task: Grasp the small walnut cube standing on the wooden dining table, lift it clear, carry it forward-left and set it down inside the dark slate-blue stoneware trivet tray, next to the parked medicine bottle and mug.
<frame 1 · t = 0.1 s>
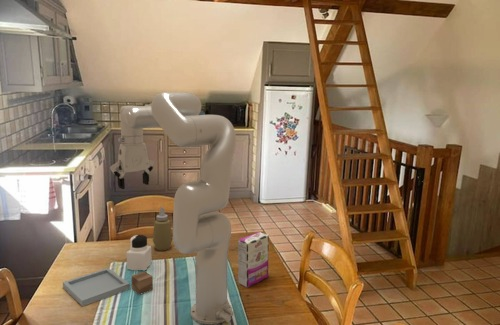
hand: (134, 186, 146), 31 cm above the table, fingers open, 9 cm apart
medicine bottle: (139, 267, 150), on the table
squeeze bottle: (162, 248, 168), on the table
tray: (96, 288, 134), on the table
cube: (142, 289, 134), on the table
candy bar box: (252, 280, 141), on the table
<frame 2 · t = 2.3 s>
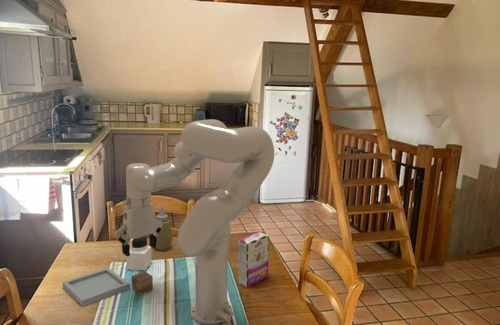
hand: (139, 250, 131), 14 cm above the table, fingers open, 9 cm apart
nothing on the table moved.
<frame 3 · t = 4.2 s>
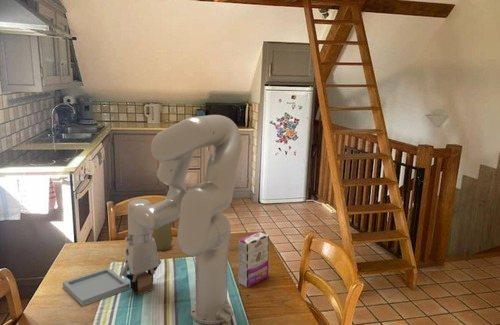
hand: (142, 287, 134), 1 cm above the table, fingers closed on cube, 5 cm apart
cube: (142, 289, 134), on the table, touching gripper
everything else where it was.
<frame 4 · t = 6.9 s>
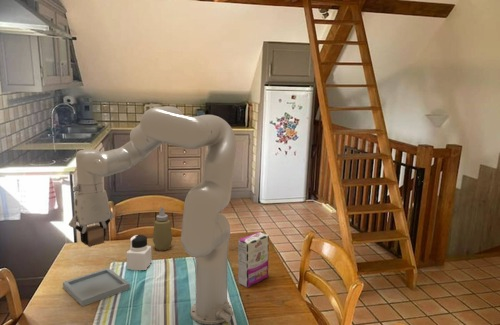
hand: (93, 240, 130), 17 cm above the table, fingers closed on cube, 5 cm apart
cube: (93, 242, 131), point 16 cm above the table, touching gripper
everything else where it was.
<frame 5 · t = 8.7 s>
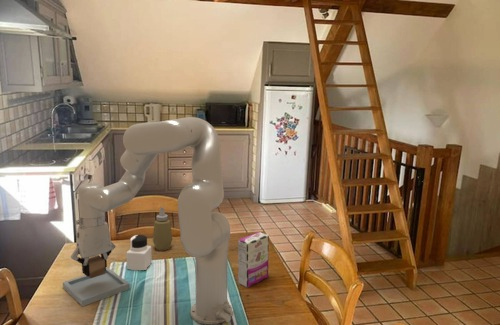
hand: (94, 271, 133), 6 cm above the table, fingers closed on cube, 5 cm apart
cube: (94, 273, 133), point 5 cm above the table, touching gripper
everything else where it was.
when the fingers open (3 cm above the table, at t = 9.9 s): cube drops 1 cm, resting on tray.
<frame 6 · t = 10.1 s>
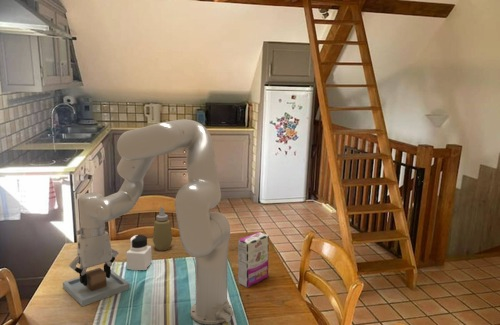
hand: (95, 280, 133), 3 cm above the table, fingers open, 7 cm apart
cube: (96, 286, 133), point 1 cm above the table, touching tray
everything else where it was.
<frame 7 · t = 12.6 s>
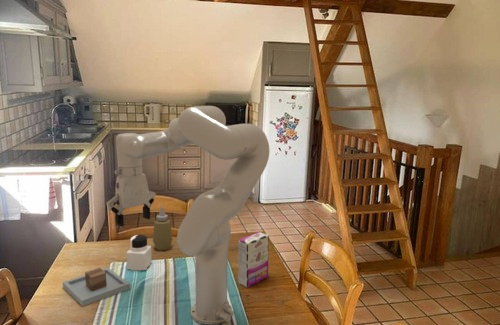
hand: (133, 221, 131), 23 cm above the table, fingers open, 9 cm apart
nothing on the table moved.
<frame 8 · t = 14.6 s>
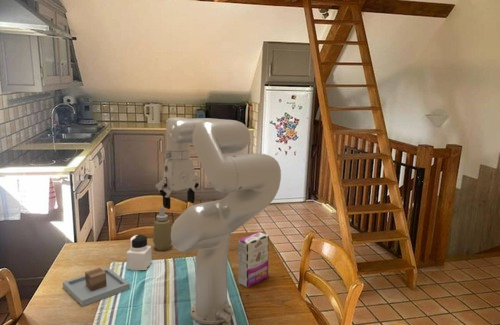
hand: (179, 205, 133), 28 cm above the table, fingers open, 9 cm apart
nothing on the table moved.
at the end: cube inside the target area on the tray (0.0 cm from its centre), point 0.8 cm above the tray's base; cube tilted 0°; the gripper is holding nothing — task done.
